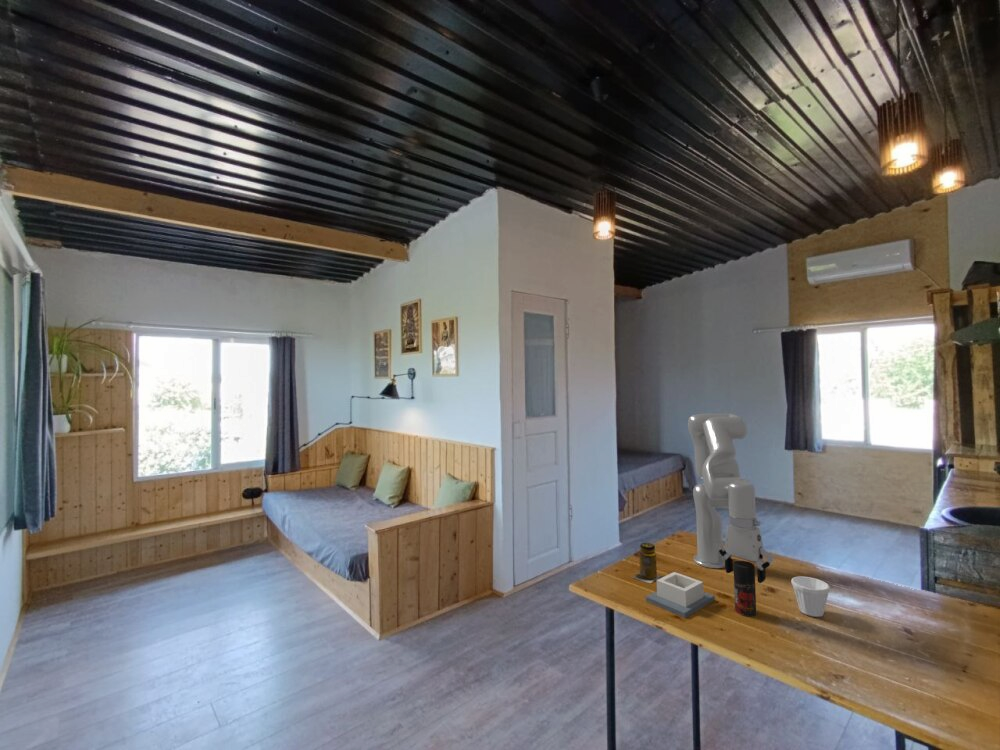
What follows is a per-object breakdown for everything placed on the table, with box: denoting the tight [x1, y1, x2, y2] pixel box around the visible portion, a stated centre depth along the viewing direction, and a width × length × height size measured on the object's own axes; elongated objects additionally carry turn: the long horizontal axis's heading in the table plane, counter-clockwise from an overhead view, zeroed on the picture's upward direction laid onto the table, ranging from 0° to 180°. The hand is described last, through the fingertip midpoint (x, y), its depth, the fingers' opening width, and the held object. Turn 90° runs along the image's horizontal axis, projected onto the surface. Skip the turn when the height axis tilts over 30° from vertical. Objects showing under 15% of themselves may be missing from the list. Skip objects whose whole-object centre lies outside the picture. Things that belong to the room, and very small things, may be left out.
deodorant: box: [733, 560, 757, 618], centre depth 143 cm, size 6×6×15 cm
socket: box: [645, 571, 716, 619], centre depth 151 cm, size 18×14×6 cm
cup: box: [790, 576, 831, 618], centre depth 141 cm, size 10×10×9 cm
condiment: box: [632, 542, 662, 584], centre depth 170 cm, size 7×8×12 cm
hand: (744, 576), depth 142 cm, fingers open, 9 cm apart
